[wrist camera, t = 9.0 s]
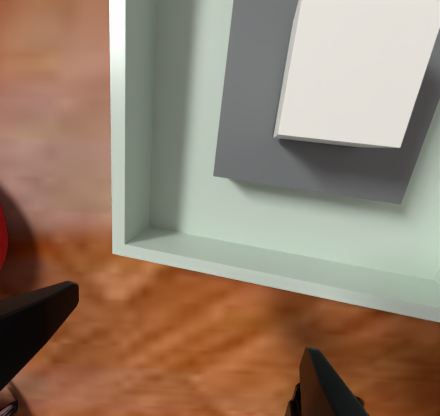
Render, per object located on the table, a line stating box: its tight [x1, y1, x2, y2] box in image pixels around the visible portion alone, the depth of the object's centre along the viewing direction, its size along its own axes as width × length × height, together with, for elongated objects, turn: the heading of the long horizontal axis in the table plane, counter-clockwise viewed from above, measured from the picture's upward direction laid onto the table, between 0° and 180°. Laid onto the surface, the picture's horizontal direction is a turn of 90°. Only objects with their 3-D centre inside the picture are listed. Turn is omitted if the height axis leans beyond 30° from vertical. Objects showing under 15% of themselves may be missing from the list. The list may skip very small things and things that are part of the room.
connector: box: [273, 0, 440, 148], centre depth 12 cm, size 5×6×8 cm
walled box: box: [109, 0, 440, 322], centre depth 15 cm, size 26×26×5 cm
